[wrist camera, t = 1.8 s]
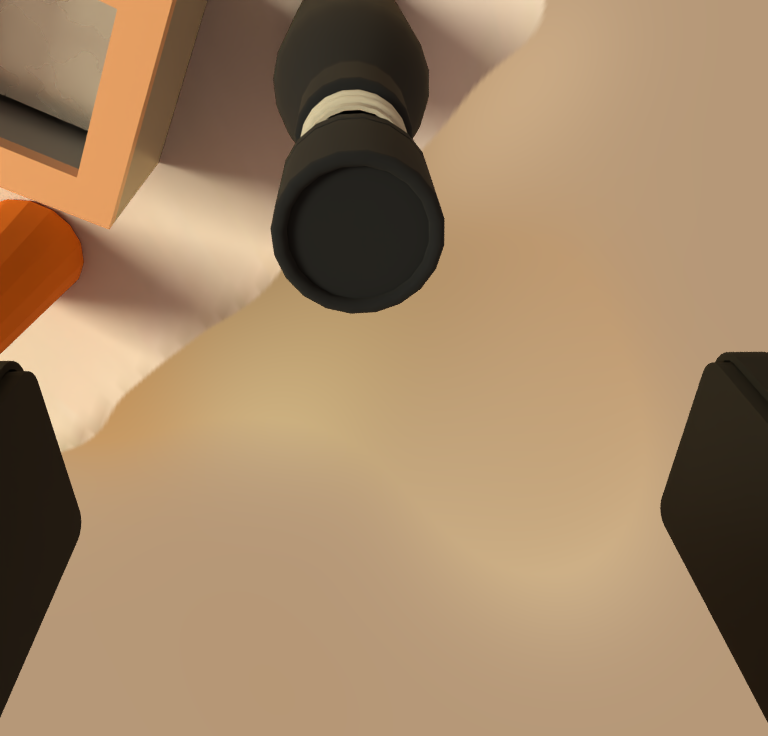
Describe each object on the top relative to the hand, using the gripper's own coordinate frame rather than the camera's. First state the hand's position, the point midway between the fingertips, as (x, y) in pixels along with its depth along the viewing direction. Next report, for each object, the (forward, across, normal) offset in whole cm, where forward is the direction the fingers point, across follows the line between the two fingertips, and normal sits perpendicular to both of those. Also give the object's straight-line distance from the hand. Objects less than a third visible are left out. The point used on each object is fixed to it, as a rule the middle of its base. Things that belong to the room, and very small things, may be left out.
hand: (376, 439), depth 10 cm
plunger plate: (+31, +15, -1) cm, 35 cm away
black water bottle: (+37, 0, -1) cm, 37 cm away
